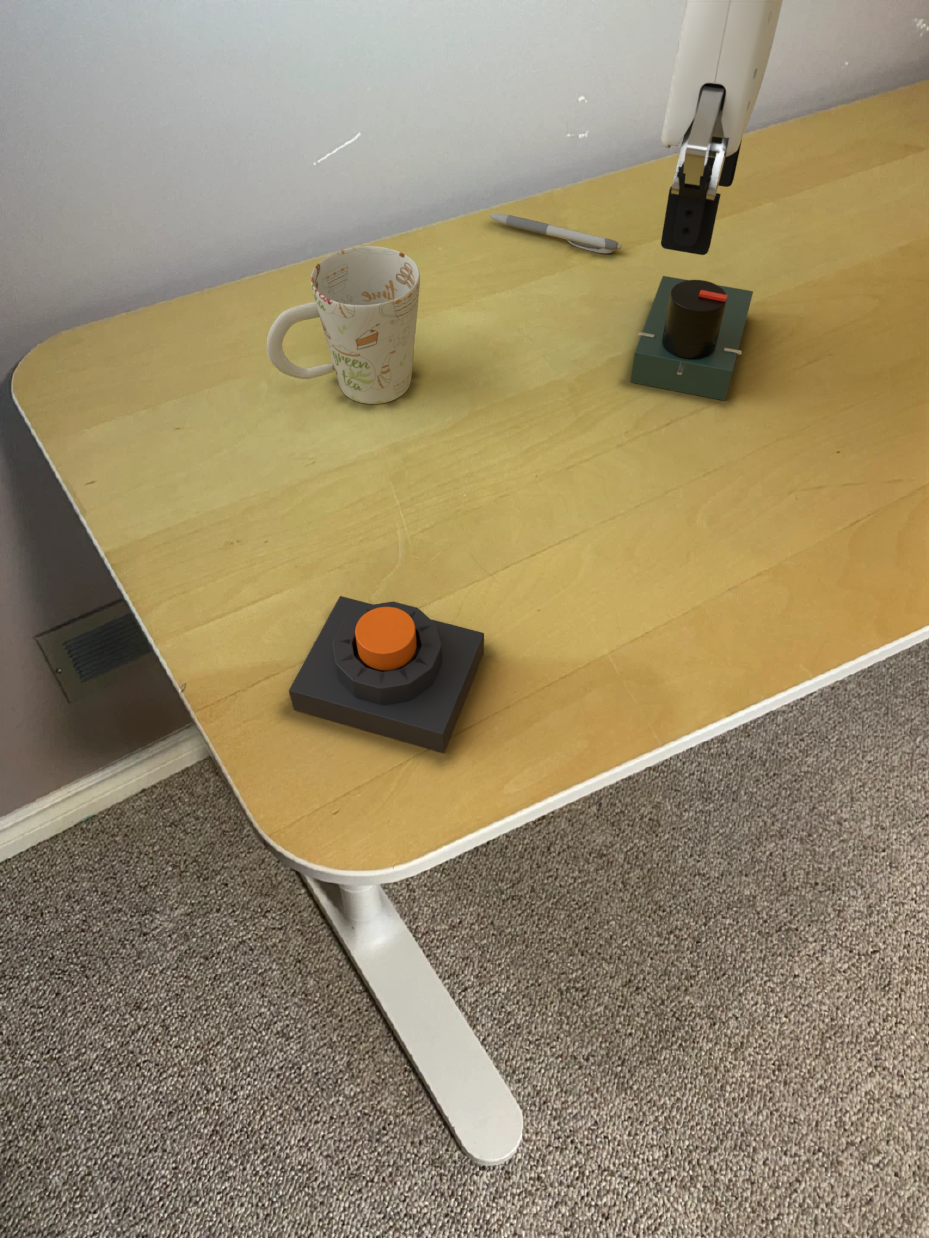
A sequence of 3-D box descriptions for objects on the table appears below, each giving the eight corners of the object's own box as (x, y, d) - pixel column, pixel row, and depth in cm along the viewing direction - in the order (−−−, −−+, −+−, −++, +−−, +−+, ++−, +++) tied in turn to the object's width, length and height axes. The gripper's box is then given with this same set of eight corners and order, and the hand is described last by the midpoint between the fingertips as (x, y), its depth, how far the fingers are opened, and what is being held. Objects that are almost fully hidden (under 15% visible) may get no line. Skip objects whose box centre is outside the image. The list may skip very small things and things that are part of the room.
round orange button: (424, 632, 59) (423, 614, 58) (404, 677, 57) (402, 659, 56) (370, 618, 60) (368, 600, 59) (348, 662, 58) (345, 644, 57)
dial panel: (654, 304, 88) (659, 273, 86) (749, 321, 86) (757, 289, 84) (621, 394, 80) (626, 362, 77) (725, 415, 78) (733, 383, 76)
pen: (618, 258, 93) (620, 244, 92) (487, 226, 97) (487, 213, 96) (622, 253, 93) (623, 239, 92) (491, 222, 97) (491, 208, 96)
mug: (439, 399, 79) (435, 291, 72) (291, 437, 77) (271, 329, 69) (405, 344, 84) (398, 237, 77) (265, 377, 81) (244, 270, 74)
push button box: (484, 653, 63) (484, 614, 60) (444, 753, 58) (442, 717, 55) (343, 616, 65) (336, 577, 62) (293, 710, 60) (283, 673, 57)
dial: (656, 353, 78) (665, 300, 75) (668, 323, 81) (678, 271, 77) (709, 364, 77) (721, 312, 74) (720, 334, 80) (733, 282, 76)
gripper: (712, -124, 60) (669, 152, 73) (654, -33, 50) (616, 269, 63) (835, -113, 58) (769, 167, 72) (802, -18, 48) (731, 289, 61)
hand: (697, 214), depth 67 cm, fingers open, 9 cm apart
